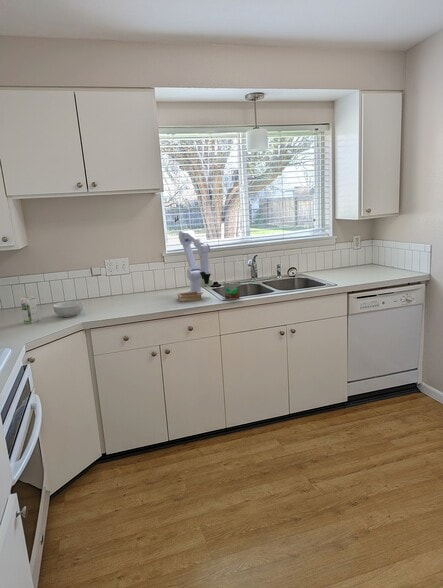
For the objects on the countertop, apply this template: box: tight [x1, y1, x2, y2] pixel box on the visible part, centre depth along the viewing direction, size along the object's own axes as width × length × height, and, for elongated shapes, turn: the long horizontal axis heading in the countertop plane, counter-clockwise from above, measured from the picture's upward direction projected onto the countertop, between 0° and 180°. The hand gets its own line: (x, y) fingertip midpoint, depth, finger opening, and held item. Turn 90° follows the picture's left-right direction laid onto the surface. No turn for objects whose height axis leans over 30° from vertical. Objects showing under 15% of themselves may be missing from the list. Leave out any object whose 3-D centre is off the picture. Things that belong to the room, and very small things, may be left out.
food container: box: [222, 281, 242, 300], centre depth 257 cm, size 12×6×10 cm, turn 62°
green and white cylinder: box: [19, 295, 39, 324], centre depth 224 cm, size 6×6×14 cm
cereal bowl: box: [52, 300, 85, 318], centre depth 235 cm, size 17×17×7 cm
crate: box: [177, 291, 203, 303], centre depth 260 cm, size 10×14×4 cm
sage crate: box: [199, 278, 214, 288], centre depth 265 cm, size 5×8×4 cm, turn 105°
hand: (205, 283), depth 265 cm, fingers closed on sage crate, 5 cm apart
